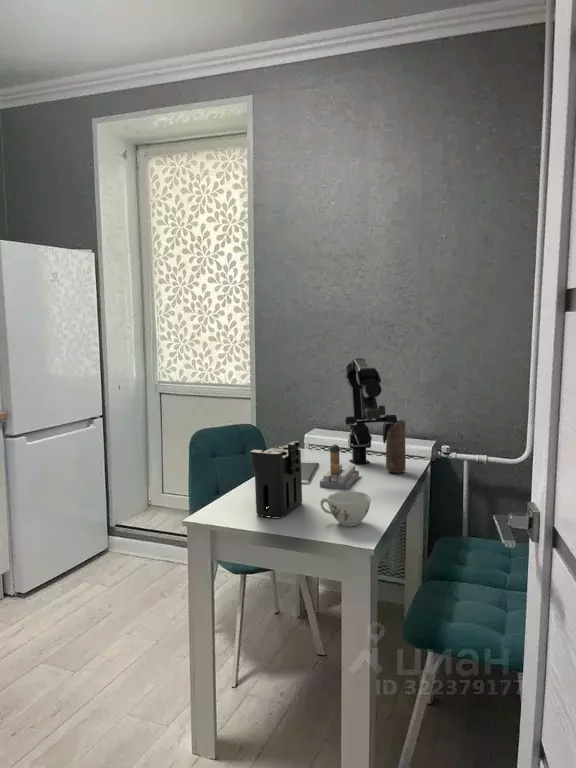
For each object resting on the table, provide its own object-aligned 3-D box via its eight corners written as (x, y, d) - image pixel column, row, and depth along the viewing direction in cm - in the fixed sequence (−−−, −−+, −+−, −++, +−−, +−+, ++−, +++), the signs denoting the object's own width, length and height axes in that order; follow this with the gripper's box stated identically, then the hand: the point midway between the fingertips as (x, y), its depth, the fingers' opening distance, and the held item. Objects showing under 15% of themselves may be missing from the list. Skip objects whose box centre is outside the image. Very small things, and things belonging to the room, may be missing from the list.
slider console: (333, 474, 222) (333, 463, 222) (359, 475, 219) (359, 465, 218) (319, 486, 207) (319, 475, 206) (347, 488, 203) (346, 477, 202)
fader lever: (331, 478, 209) (331, 443, 208) (341, 479, 208) (340, 443, 206) (329, 481, 206) (328, 445, 204) (338, 481, 204) (338, 445, 203)
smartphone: (273, 485, 213) (273, 480, 213) (287, 465, 239) (287, 461, 239) (309, 486, 210) (308, 481, 210) (319, 466, 236) (319, 462, 236)
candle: (407, 474, 218) (406, 422, 216) (387, 475, 218) (387, 423, 216) (403, 469, 226) (403, 418, 223) (384, 470, 226) (384, 419, 223)
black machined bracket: (252, 517, 178) (249, 446, 175) (281, 497, 196) (279, 433, 194) (286, 521, 173) (284, 449, 170) (313, 500, 191) (312, 435, 189)
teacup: (375, 518, 173) (375, 492, 172) (365, 533, 162) (364, 505, 161) (327, 513, 179) (327, 488, 178) (314, 527, 167) (313, 500, 166)
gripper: (346, 399, 204) (349, 443, 202) (399, 397, 205) (402, 441, 203) (342, 403, 215) (345, 445, 213) (392, 401, 216) (395, 443, 214)
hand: (371, 444), depth 210 cm, fingers open, 9 cm apart
